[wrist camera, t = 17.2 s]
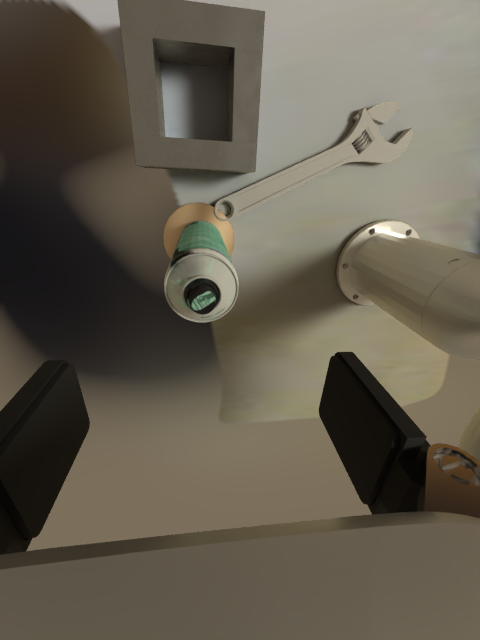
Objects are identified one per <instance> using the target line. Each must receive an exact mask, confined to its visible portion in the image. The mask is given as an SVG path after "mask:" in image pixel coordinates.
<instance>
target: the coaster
mask: <svg viewBox="0 0 480 640" xmlns="http://www.w3.org/2000/svg"><path fill="white" fill-rule="evenodd" d="M217 214H218V215H219V217H221V218H223V219H227V218H226V217H225V215H224V214H223V213H222V212H221V211H219V210H218V209H217ZM197 220H204V221H208V222H210V223H212V224H213V225H214V226H215V227H216V228H217V229H218V230H219V232H220V233H221V236H222V238H223V241H224V243H225V246H226V248H227V251H228V253H229V256H231V254H232V251H233V247H234V234H233V230H232V227H231V225H230V223H229V221H222V220H220V219H219V218H217V216H216V214H215V207H213V206H211V205H209V204H205V203H190V204H186V205H184V206H182V207H180V208H178V209H177V210H176V211H175V212H174V213H173V214H172V215H171V216H170V217H169V219H168V221H167V223H166V226H165V229H164V235H163V241H164V246H165V250H166V252H167V254H168V256H169V258H170V259H171V258H172V256H173V253H174V250H175V248H176V245H177V243H178V240H179V237H180V235H181V232H182V230H183V229H184V228H185V227H186V225H188V224H189V223H191V222H193V221H197Z"/></svg>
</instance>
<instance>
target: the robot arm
mask: <svg viewBox="0 0 480 640" xmlns="http://www.w3.org/2000/svg"><path fill="white" fill-rule="evenodd" d="M369 230H370V231H369ZM343 264H344V265H343ZM336 275H337V282H338V285H339V288H340V289H341V291H342V292H343V294H344V295H345V296H346V297H347V298H349V299H350V300H351V301H353V302H355V303H357V304H360V305H366V306H368V305H377V306H379V307H380V308H382V309H383V310H384V311H386V312H387V313H389V314H390V315H391V316H393V317H394V318H396V319H397V320H399V321H400V322H401V323H403V324H404V325H406V326H407V327H409V328H410V329H411V330H413V331H414V332H416V333H417V334H419V335H420V336H422V337H423V338H424V339H426V340H427V341H429V342H430V343H432V344H433V345H435V346H436V347H438V348H439V349H441V350H442V351H444V352H446V353H448V354H450V355H453V356H455V357H459V358H463V359H469V360H480V255H479V254H475V253H471V252H467V251H463V250H459V249H456V248H452V247H448V246H444V245H440V244H436V243H433V242H429V241H425V240H421V239H420V238H419V235H418V234H417V232H416V231H415V230H414V228H412V227H411V226H410V225H408V224H406V223H404V222H402V221H397V220H380V221H376V222H373V223H371V224H368V225H367V226H365V227H363V228H362V229H360V230H359V231H358V232H357V233H355V234H354V235H353V236H352V238H351V239H350V240H349V241H348V242H347V244H346V245H345V247H344V248H343V250H342V252H341V254H340V257H339V260H338V264H337V272H336ZM319 415H320V418H321V420H322V422H323V424H324V426H325V428H326V430H327V432H328V434H329V436H330V438H331V440H332V442H333V444H334V446H335V448H336V451H337V453H338V455H339V457H340V459H341V461H342V463H343V465H344V467H345V469H346V471H347V473H348V475H349V477H350V479H351V481H352V483H353V485H354V487H355V489H356V491H357V493H358V495H359V497H360V499H361V501H362V502H363V503H364V504H367V505H368V507H369V509H370V511H371V513H372V515H362V516H350V517H340V518H331V519H320V520H311V521H300V522H291V523H281V524H270V525H261V526H252V527H241V528H232V529H223V530H212V531H204V532H194V533H184V534H175V535H166V536H156V537H147V538H138V539H129V540H120V541H111V542H102V543H93V544H84V545H75V546H66V547H57V548H49V549H41V550H33V551H26V550H27V548H28V546H29V544H30V542H31V540H32V538H34V537H36V536H38V535H39V533H40V532H41V530H42V528H43V526H44V524H45V522H46V519H47V517H48V515H49V513H50V511H51V509H52V507H53V504H54V502H55V500H56V498H57V496H58V494H59V492H60V490H61V487H62V485H63V483H64V481H65V479H66V477H67V475H68V473H69V471H70V469H71V466H72V464H73V462H74V460H75V458H76V456H77V454H78V451H79V449H80V447H81V445H82V443H83V441H84V439H85V437H86V435H87V432H88V430H89V424H90V422H89V417H88V414H87V410H86V407H85V403H84V399H83V396H82V392H81V389H80V385H79V381H78V378H77V374H76V371H75V367H74V365H73V364H69V362H68V361H66V360H48V361H46V362H44V363H43V364H42V366H41V367H40V368H39V369H38V370H37V371H36V372H35V374H33V376H32V377H31V378H30V379H29V380H28V381H27V382H26V383H25V385H24V386H23V387H22V388H21V389H20V390H19V391H18V392H17V393H16V395H15V396H14V397H13V398H12V399H11V400H10V401H9V403H8V404H7V405H6V406H5V407H4V408H3V409H2V410H1V411H0V640H480V407H479V409H478V410H477V411H476V413H475V414H474V416H473V417H472V419H471V420H470V422H469V423H468V425H467V426H466V428H465V430H464V431H463V433H462V435H461V437H460V440H459V444H458V447H455V446H452V445H449V444H444V443H436V444H432V445H430V444H429V443H428V442H427V441H426V440H425V439H426V436H425V435H424V433H423V432H422V431H421V430H420V429H419V428H418V426H417V425H416V424H415V423H414V422H413V421H412V420H411V419H410V417H409V416H408V415H407V414H406V413H405V412H404V410H403V409H402V408H401V407H400V406H399V405H398V404H397V402H396V401H395V400H394V399H393V398H392V397H391V395H390V394H389V393H388V392H387V391H386V390H385V389H384V387H383V386H382V385H381V384H380V383H379V382H378V381H377V379H376V378H375V377H374V376H373V375H372V374H371V372H370V371H369V370H368V369H367V368H366V367H365V366H364V364H363V363H362V362H361V361H360V360H359V359H358V358H357V356H356V355H355V354H354V353H353V352H337V353H336V354H335V356H332V357H331V359H330V362H329V367H328V371H327V375H326V380H325V384H324V388H323V393H322V397H321V402H320V406H319Z"/></svg>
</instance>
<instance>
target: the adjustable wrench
mask: <svg viewBox="0 0 480 640" xmlns="http://www.w3.org/2000/svg"><path fill="white" fill-rule="evenodd" d="M400 107H401V106H400V104H399V103H398V102H384V103H380V104H378V105H376V106H373V107H371V108H369V109H366V108H365V107H364V108H362V109H360V110H359V112H358V114H356V115H355V116H354V118H353V119H354V120H355V123H354V125H353V127H352V128H351V130H350V132H349V133H348V135H347V136H346V137H345V138H344V139H343V140H342V141H341V142H340V143H339V144H337V145H336V146H334V147H332V148H330V149H328V150H326V151H323V152H321V153H319V154H317V155H315V156H313V157H310V158H308V159H306V160H304V161H302V162H300V163H297V164H295V165H293V166H291V167H289V168H287V169H284V170H282V171H280V172H278V173H276V174H274V175H271V176H269V177H267V178H265V179H263V180H260V181H258V182H256V183H254V184H252V185H250V186H247V187H245V188H243V189H241V190H239V191H237V192H234V193H232V194H230V195H228V196H226V197H224V198H221V199H220V200H218V201H217V202H216V204H215V214H216V216H217V218H219V219H220V220H222V221H228V220H231V219H233V218H235V217H237V216H239V215H241V214H243V213H245V212H247V211H249V210H251V209H253V208H255V207H257V206H259V205H261V204H263V203H265V202H267V201H269V200H271V199H273V198H275V197H278V196H280V195H282V194H284V193H286V192H288V191H290V190H292V189H294V188H296V187H298V186H300V185H302V184H304V183H306V182H308V181H310V180H312V179H314V178H316V177H318V176H320V175H322V174H324V173H326V172H328V171H330V170H332V169H334V168H336V167H338V166H340V165H343V164H345V163H349V162H367V163H375V164H380V163H387V162H391V161H393V160H395V159H396V158H398V157H399V156H400V155H401V154H402V153H403V152H404V151H405V149H406V148H407V146H408V144H409V143H410V140H411V137H412V134H413V129H412V128H410V129H406V130H404V131H403V132H402V133H401V134H400V135H399V136H398V138H397V139H396V140H395V141H394V142H393V143H390V142H387V141H385V140H384V138H383V136H382V135H381V133H380V125H382V124H385V123H386V122H387V120H388V119H389V118H390V117H391V116H392V115H393V114H394V113H395V112H396V111H397V110H398V109H399V108H400ZM352 143H353V144H352ZM353 145H355V146H354V147H353ZM355 148H356V150H355ZM357 150H358V152H357ZM224 202H225V203H228V204H229V205H230V206H231V213H230V214H229V215H228V216H226V218H227V219H223V218H221V217H219V215H218V214H217V209H218V207H219V205H220V204H221V203H224Z"/></svg>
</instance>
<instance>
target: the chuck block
mask: <svg viewBox="0 0 480 640" xmlns="http://www.w3.org/2000/svg"><path fill="white" fill-rule="evenodd" d="M118 8H119V17H120V26H121V35H122V44H123V53H124V62H125V71H126V80H127V89H128V97H129V107H130V115H131V125H132V133H133V142H134V151H135V160H136V165H137V166H141V167H145V168H162V169H181V170H199V171H218V172H237V173H251V172H255V170H256V153H257V136H258V120H259V103H260V86H261V69H262V53H263V36H264V19H265V11H259V10H251V9H244V8H237V7H229V6H222V5H215V4H207V3H200V2H192V1H185V0H118ZM160 61H164V62H174V63H183V64H193V65H202V66H212V67H221V68H229V113H228V141H213V140H199V139H184V138H169V137H165V126H164V111H163V96H162V81H161V66H160Z"/></svg>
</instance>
